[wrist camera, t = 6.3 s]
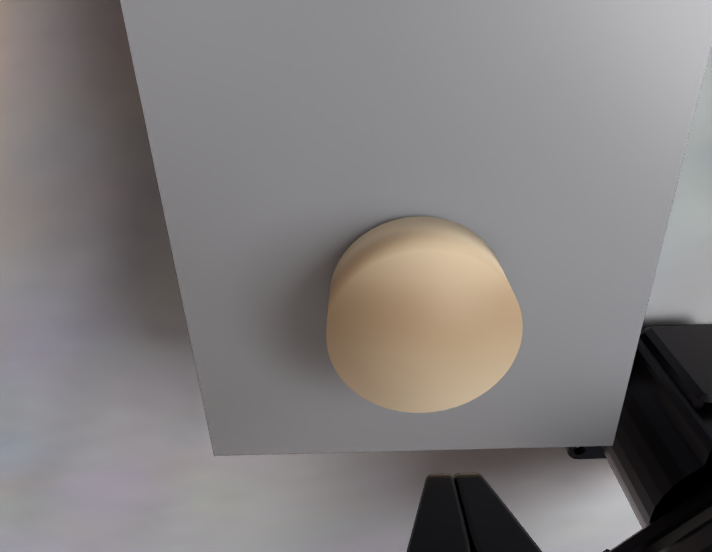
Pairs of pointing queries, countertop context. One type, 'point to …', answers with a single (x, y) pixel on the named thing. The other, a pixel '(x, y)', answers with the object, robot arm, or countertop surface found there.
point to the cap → (421, 316)
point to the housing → (415, 193)
